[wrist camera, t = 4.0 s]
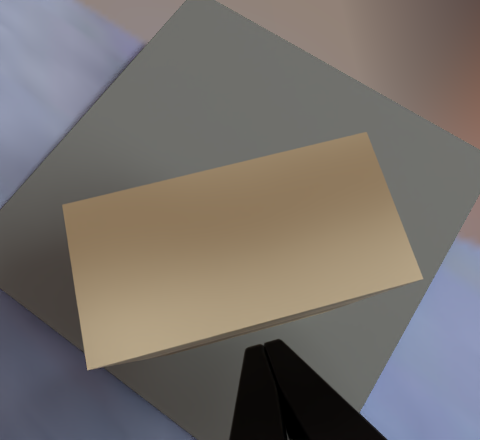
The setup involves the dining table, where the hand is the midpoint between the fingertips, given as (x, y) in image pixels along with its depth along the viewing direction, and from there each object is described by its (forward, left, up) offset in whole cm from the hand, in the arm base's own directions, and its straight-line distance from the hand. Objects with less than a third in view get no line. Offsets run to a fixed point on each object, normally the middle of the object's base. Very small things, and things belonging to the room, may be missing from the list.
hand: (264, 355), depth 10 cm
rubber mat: (+4, -4, -7) cm, 9 cm away
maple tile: (+2, -1, -6) cm, 7 cm away
